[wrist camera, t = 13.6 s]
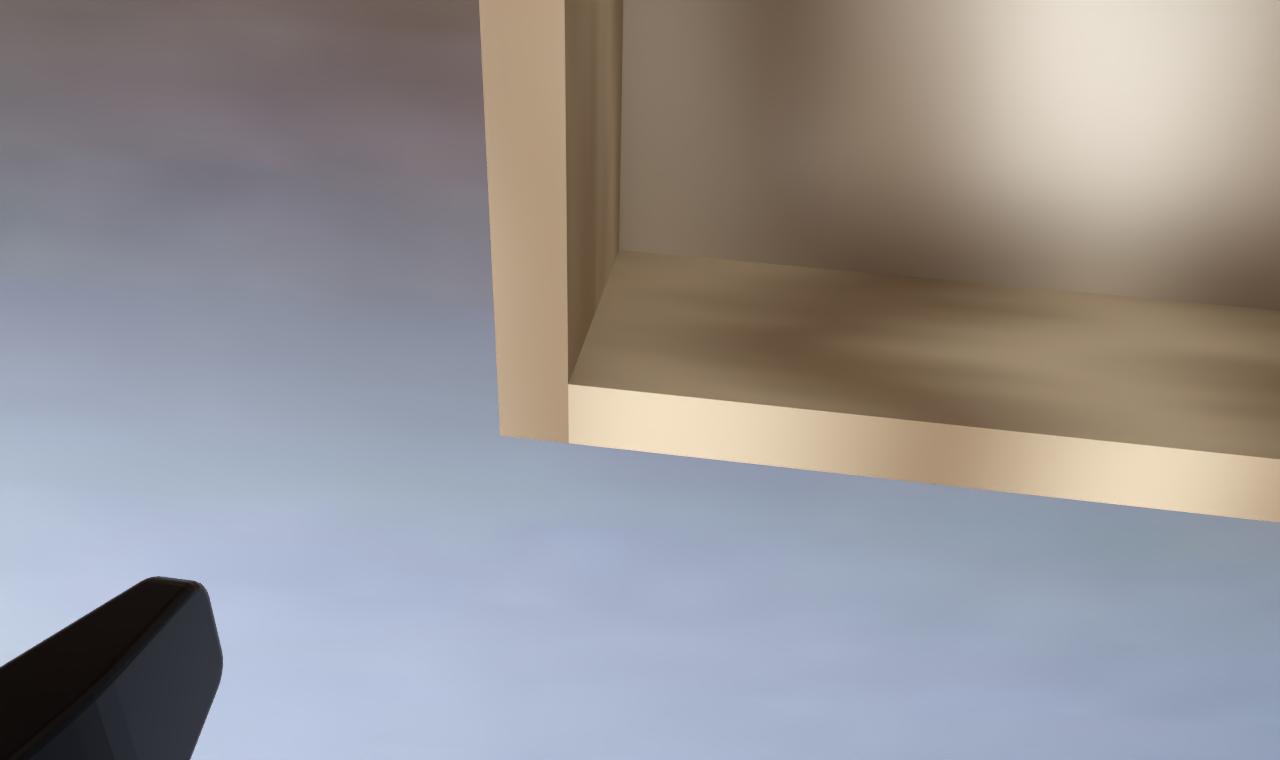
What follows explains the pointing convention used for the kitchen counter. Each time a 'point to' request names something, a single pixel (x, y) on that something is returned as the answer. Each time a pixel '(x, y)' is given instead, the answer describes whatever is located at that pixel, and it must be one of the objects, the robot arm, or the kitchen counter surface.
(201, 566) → the kitchen counter surface
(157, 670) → the robot arm
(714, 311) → the walled box
